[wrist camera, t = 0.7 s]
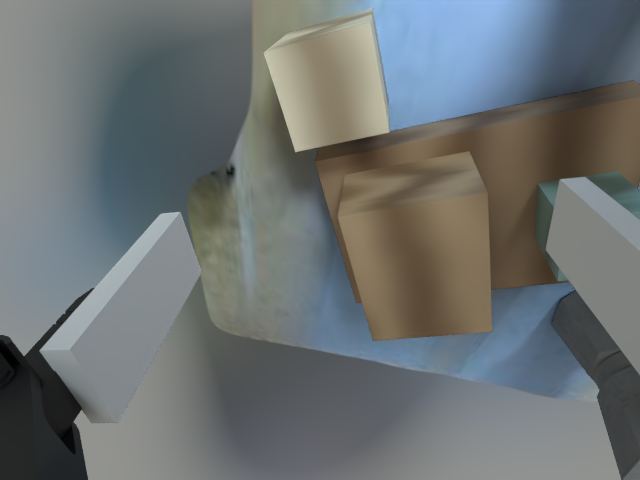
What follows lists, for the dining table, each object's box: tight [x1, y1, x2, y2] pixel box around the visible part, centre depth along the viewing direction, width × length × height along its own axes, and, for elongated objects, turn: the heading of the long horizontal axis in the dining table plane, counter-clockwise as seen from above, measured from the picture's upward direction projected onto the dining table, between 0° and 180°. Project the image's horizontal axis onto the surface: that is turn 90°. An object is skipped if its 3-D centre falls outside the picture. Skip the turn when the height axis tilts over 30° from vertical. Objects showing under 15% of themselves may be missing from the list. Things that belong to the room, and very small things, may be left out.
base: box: [315, 80, 640, 341], centre depth 29 cm, size 22×15×9 cm
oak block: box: [264, 8, 390, 152], centre depth 25 cm, size 6×6×7 cm
